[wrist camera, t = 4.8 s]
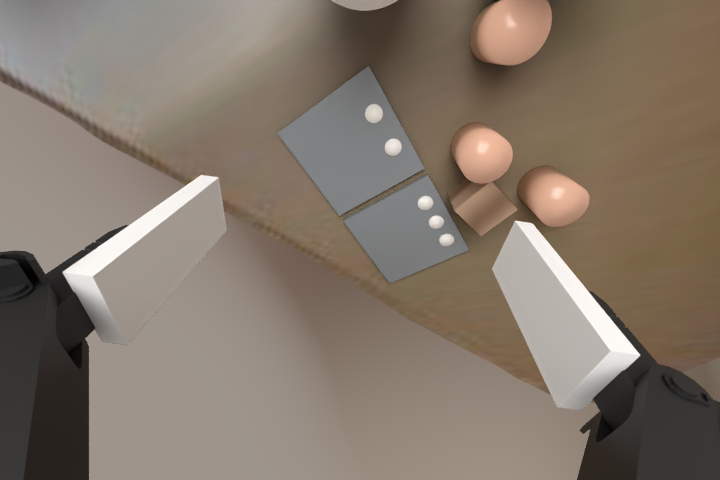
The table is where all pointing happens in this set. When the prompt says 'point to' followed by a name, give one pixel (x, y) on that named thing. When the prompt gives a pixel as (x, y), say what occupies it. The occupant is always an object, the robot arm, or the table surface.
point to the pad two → (352, 143)
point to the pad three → (407, 230)
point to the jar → (364, 4)
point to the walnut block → (480, 204)
